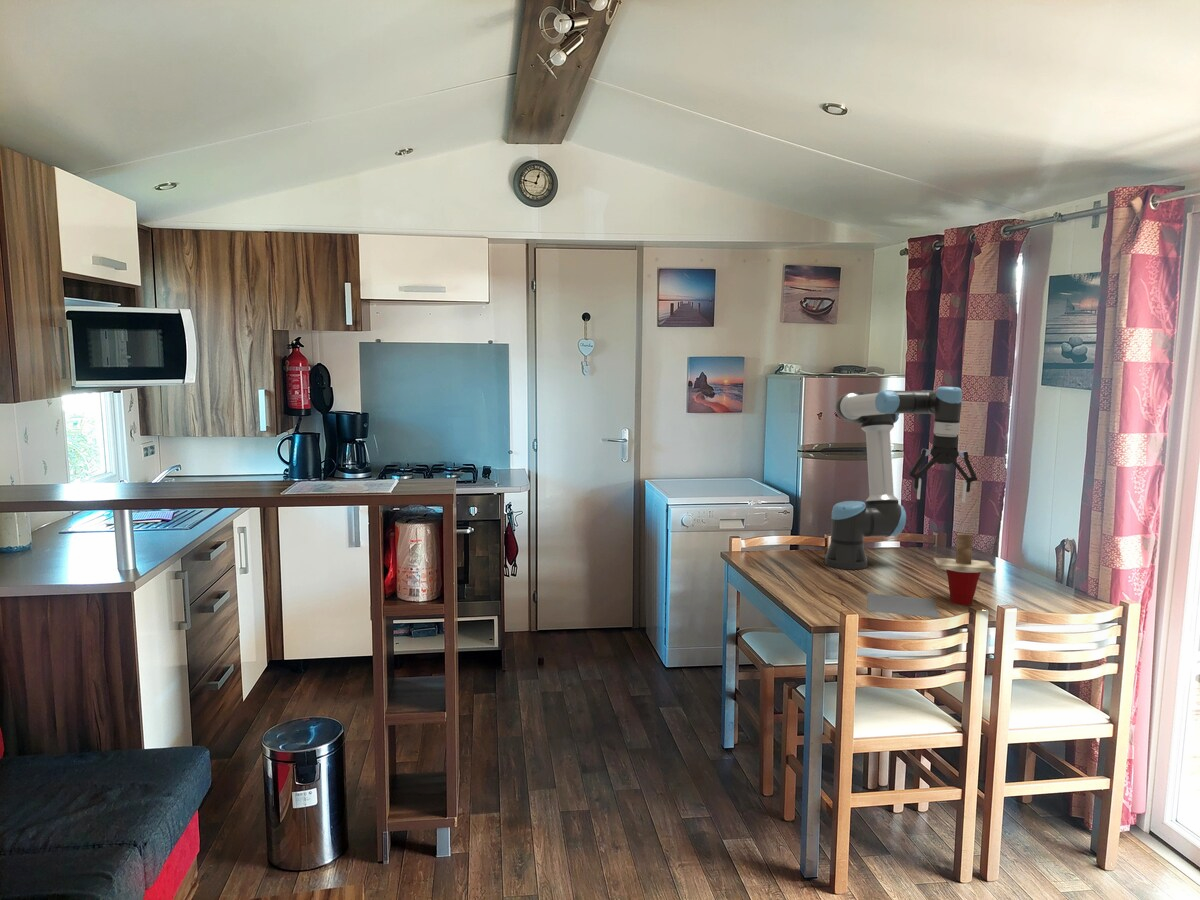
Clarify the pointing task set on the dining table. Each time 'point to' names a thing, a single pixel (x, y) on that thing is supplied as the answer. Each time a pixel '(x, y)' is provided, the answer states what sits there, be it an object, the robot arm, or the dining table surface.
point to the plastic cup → (962, 586)
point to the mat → (902, 605)
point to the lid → (964, 558)
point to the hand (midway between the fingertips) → (940, 500)
